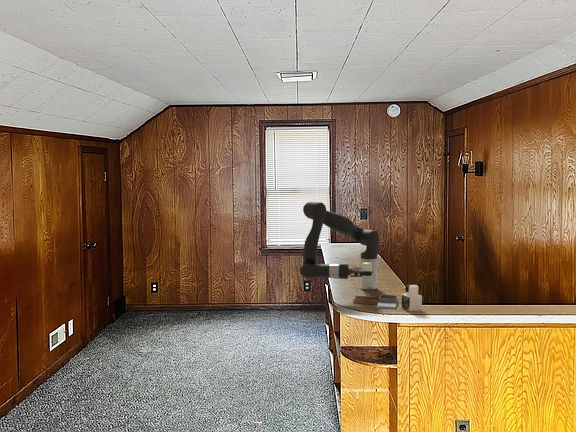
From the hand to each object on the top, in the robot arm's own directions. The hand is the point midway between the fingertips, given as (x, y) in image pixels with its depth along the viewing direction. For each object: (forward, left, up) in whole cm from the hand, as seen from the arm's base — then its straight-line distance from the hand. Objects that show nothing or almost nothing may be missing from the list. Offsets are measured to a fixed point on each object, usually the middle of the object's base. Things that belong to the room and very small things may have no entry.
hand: (372, 272), depth 303 cm
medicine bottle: (+11, +20, -15) cm, 28 cm away
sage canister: (0, -3, -7) cm, 8 cm away
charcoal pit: (0, +8, -15) cm, 17 cm away
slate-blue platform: (+9, +8, -15) cm, 19 cm away
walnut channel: (0, -3, -15) cm, 15 cm away
